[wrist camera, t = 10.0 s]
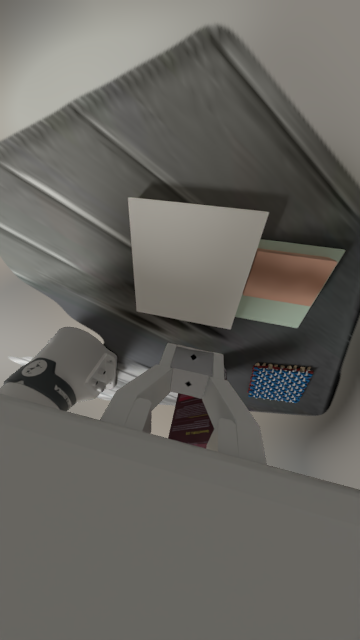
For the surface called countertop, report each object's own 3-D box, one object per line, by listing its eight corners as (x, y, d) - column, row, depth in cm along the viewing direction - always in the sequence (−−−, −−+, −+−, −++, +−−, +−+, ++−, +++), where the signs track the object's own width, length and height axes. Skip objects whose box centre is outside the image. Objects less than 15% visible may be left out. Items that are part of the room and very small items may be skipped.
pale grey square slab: (229, 319, 30) (230, 329, 27) (143, 303, 32) (136, 311, 29) (263, 211, 20) (269, 212, 18) (138, 197, 22) (127, 197, 20)
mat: (296, 326, 28) (297, 328, 27) (233, 314, 29) (233, 316, 29) (343, 249, 21) (345, 250, 20) (257, 238, 22) (258, 239, 22)
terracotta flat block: (304, 299, 25) (310, 306, 23) (241, 289, 26) (242, 295, 24) (329, 257, 21) (337, 261, 20) (254, 247, 22) (257, 251, 21)
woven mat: (297, 396, 38) (300, 405, 36) (246, 390, 40) (247, 398, 38) (313, 364, 32) (318, 373, 30) (252, 359, 34) (254, 367, 33)
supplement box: (195, 379, 41) (182, 459, 28) (183, 366, 39) (164, 445, 27) (228, 369, 37) (230, 458, 24) (216, 355, 35) (212, 442, 22)
